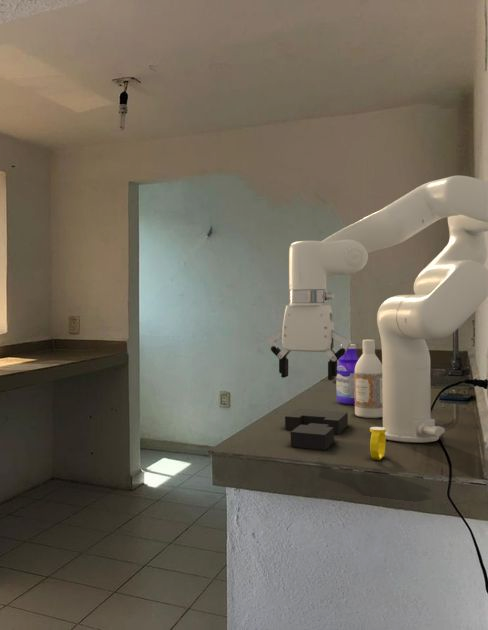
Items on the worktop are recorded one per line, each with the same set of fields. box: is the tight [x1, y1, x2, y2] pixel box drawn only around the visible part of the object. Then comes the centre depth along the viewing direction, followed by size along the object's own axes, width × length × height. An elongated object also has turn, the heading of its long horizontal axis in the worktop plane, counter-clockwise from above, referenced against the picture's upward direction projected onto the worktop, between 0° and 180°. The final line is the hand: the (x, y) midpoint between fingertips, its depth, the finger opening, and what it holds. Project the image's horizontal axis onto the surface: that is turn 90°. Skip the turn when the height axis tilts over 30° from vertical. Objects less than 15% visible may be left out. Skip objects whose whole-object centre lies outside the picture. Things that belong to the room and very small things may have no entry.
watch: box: [369, 426, 387, 461], centre depth 127 cm, size 6×3×6 cm, turn 141°
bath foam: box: [354, 339, 383, 419], centre depth 170 cm, size 7×7×20 cm
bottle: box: [335, 343, 360, 406], centre depth 190 cm, size 7×6×17 cm
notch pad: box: [284, 408, 349, 435], centre depth 157 cm, size 12×12×3 cm
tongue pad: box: [290, 423, 335, 451], centre depth 141 cm, size 7×12×3 cm, turn 147°
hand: (307, 378), depth 140 cm, fingers open, 9 cm apart
